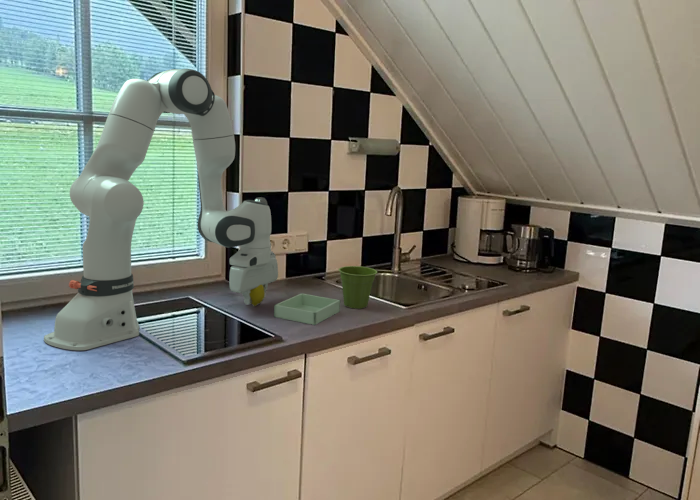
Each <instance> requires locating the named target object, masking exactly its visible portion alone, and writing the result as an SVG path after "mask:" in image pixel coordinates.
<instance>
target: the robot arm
mask: <svg viewBox="0 0 700 500" xmlns="http://www.w3.org/2000/svg"><path fill="white" fill-rule="evenodd" d="M211 86H212V85H210V82H209V80H208V79H207V77H206V76H205V75H204V74H203V73H201V72H200V71H197V70H195V69H192V68H181V69H180V68H171V69H167V70H164V71H159V72H157V73H154V74H153V75H152V76H150V77H149V78H148V79H147V80H145V79H143V78H142V79H141V78H130V79H128V80H126V81H125V82H124V83H123V84H122V86H121V87H120V89H119V91H118V92H117V94H116V96H115V98H114V101H113V102H112V104H111V106H110V110H109V112H108V116H107V117H106V120H105V122H104V125H103V126H104V127H103V129H102V132H101V134H100V137H99V140H98V142H97V144H96V147H95V149H94V151H93V152H92V154H91V156H90V158H89V159H88V161H87V163H86V164H85V166H84V168H83V169H82V170H81V172H80V175H79V176H78V177H77V178H76V179H75V180H74V181H73V182H72V184H71V185H70V188H69V198H70V201H71V203H72V204H73V206H74V207H75V208H76V209H77V210H78V211H79V212H80V213H81V214H82V215H84V216H87V217H89V225H88V230H87V235H86V239H85V241H83V244H82V265H83V266H82V267H83V269H82V270H83V271H82V272H83V275H82V276H81V280H80V281H78V280H74V279H71V280H70V281H69V282H68V287H69V288H70V289H74V290H77V294H76V295H75V296H73V298H72V299H71V300H70V301H68V303H67V304H66V305H65V306H64V307H63V308H62V309H61V310H60V311H59V312H58V313H56V315H55V320H54V328H53V329H54V330H53V331H52V332H50V333H47V334H45V335H44V336H43V341H44V342H45V344H48V345H49V346H52V347H56V348H60V349H63V350H71V351H86V350H92V349H95V348H99V347H103V346H106V345H110V344H112V343H113V344H114V343H117V342H120V341H121V342H122V341H123V340H128V339H131V338H135V337H138V336H140V331H139V329H140V324H139V322H138V319H137V314H136V308H135V302H134V301H135V300H134V296H133V289H134V287H135V286H134V284H135V281H134V275H133V273H132V241H133V235H134V232H135V231H134V230H135V226H136V222H137V219H138V218H139V217H140V215H141V213H142V212H143V210H144V203H145V202H144V197H143V193H142V192H141V191H140V190H139V188H138V187H136V186H135V185H134V183H132V182H130V181H129V180H130V179H131V177H132V175H133V174H134V173H135V172H136V170H137V168H138V167H140V166H141V165H142V163H144V161H145V158H146V157H147V152H148V149H149V146H150V144H151V142H152V138H153V135H154V131H155V129H156V127H157V122H158V120H159V118H160V117H161V115H162V114H170V113H171V114H175V115H184V117H185V118H186V119H187V121H188V123H189V126H190V127H191V129H190V130H191V136H192V138H191V139H192V144H193V149H194V155H195V160H196V161H195V162H196V167H197V179H198V180H197V181H198V189H199V199H200V200H199V201H200V212H199V215H198V219H197V230H198V233H199V235H200V236H201V238H202V239H203V240H205V241H207V242H210V243H213V244H215V245H216V244H217V245H219V246H222V247H224V248H236V247H240V249H239V250H238V251H236V253H234V254H233V255H232V256H231V257H230V258H229V265H231V267H230V269H229V277H228V278H229V290H230V291H231V292H232V293H237V294H242V296H243V300H244V301H243V302H244V305H252V304H251V303H252V298H251V297H250V295H249V293H250V290H251V289H254V288H257V287H258V286H259V285H263V287H264V299H265V298H266V293H267V291H268V290H267V289H268V286H269V284H272V283H274V282H276V281H277V279H278V278H279V269H278V265H279V263H278V260H277V257H276V253H275V252H274V251H272V243H271V234H272V215H271V214H272V213H271V209H270V206H269V205H268V203H267V204H265V203H262V202H258V201H254V200H253V199H246V200H243V201H242V203H241V204H240V205H238V206H236V207H235V208H233V209H231V210H226V208H225V205H224V202H223V201H224V200H223V199H224V198H223V190H222V189H223V188H222V176H223V173H224V172H225V170H226V169H228V167H230V165H231V164H232V163H233V161H234V160H235V158H236V157H235V156H236V141H235V133H234V128H233V127H234V126H233V122H232V119H231V115H230V111H229V109H228V105H227V102H226V101H225V99H223V98H222V97H221V96H219V95H217V94H215V93H214V91H213V90H212V87H211ZM271 282H272V283H271Z"/></svg>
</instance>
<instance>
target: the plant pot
mask: <svg viewBox="0 0 700 500" xmlns="http://www.w3.org/2000/svg"><path fill="white" fill-rule="evenodd" d="M338 271H339V273H340V278H341V286H342V288H341V289H342V296H343V297H342V298H343V305H344V306H345V307H349V308H350V309H352V310H353V309H358V310H359V309H364V308H367V307H368V305H369V301H370V296H371V291H372V288H373V283H374V281H375V278H376V275H377V274H378V271H377V270H376V269H374V268H371V267H367V266H357V265H356V266H355V265H350V266H349V265H346V266H341V267H339V268H338Z"/></svg>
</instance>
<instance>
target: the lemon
mask: <svg viewBox="0 0 700 500" xmlns="http://www.w3.org/2000/svg"><path fill="white" fill-rule="evenodd" d="M249 295H250V297H251V298H252V303H251V304H250V305H252V306H253V307H257V306H258V305H260V304H261V303H262V302H263V301H264V299H265V298H264V287H263V285H259V286H258V287H257V288H254V289H251V290H250V293H249Z"/></svg>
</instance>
